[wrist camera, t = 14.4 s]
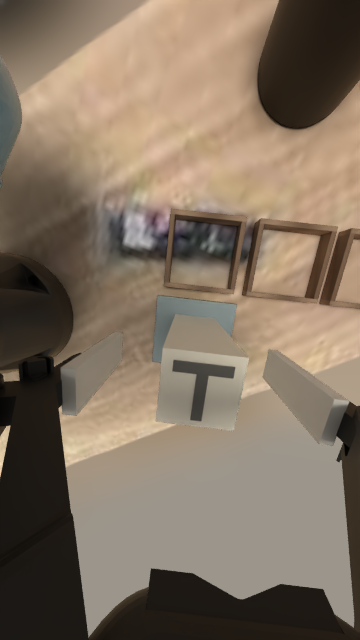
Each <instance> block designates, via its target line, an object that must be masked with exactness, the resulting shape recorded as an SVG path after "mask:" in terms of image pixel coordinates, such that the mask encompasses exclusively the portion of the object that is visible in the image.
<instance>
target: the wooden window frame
mask: <svg viewBox="0 0 360 640" xmlns="http://www.w3.org/2000/svg"><path fill="white" fill-rule="evenodd" d="M263 229H269V230H278V231H287V232H297V233H306V234H315V235H321V239H320V243H319V247H318V250H317V254H316V258H315V262H314V266H313V270H312V273H311V277H310V281H309V285H308V289H307V293H306V296H305V298H301V297H292V296H283V295H274V294H266V293H257V292H251V290H252V285H253V280H254V275H255V270H256V264H257V259H258V254H259V249H260V244H261V239H262V234H263ZM337 229H338V227H336V226H327V225H318V224H308V223H299V222H290V221H280V220H271V219H262V218H261V219H260V220H259V221H257V222H256V223H255V228H254V233H253V239H252V244H251V249H250V255H249V260H248V266H247V271H246V277H245V282H244V287H243V293H242V295H246V296H254V297H263V298H272V299H281V300H290V301H298V302H307V303H316V304H317V301H318V298H319V294H320V290H321V287H322V283H323V280H324V276H325V272H326V269H327V265H328V262H329V258H330V254H331V251H332V247H333V244H334V240H335V236H336V233H337Z"/></svg>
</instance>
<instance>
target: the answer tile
mask: <svg viewBox="0 0 360 640" xmlns="http://www.w3.org/2000/svg"><path fill="white" fill-rule="evenodd" d="M236 307H237V305H236V304H231V303H223V302H214V301H205V300H196V299H188V298H179V297H170V296H161V295H158V298H157V310H156V322H155V334H154V346H153V358H152V362H159V363H161V361H162V350H163V346H164V343H165V340H166V338H167V335H168V333H169V330H170V327H171V325H172V322H173V319H174V317H175V314H180V315H189V316H198V317H206V318H214V319H215V320H216V321H217V322H218V323H219V324H220V325H221V327H222V328H223V329H224V330H225V331H226V332H227V333H228V335H229V336H230V337H231V335H232V329H233V324H234V318H235V313H236Z"/></svg>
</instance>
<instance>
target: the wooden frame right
mask: <svg viewBox="0 0 360 640" xmlns="http://www.w3.org/2000/svg"><path fill="white" fill-rule="evenodd" d="M353 239H360V229H355V228H351V229H348V230H345V231H342V232H340V233H339V236H338V240H337V244H336V247H335V251H334V254H333V258H332V261H331V265H330V268H329V272H328V276H327V279H326V283H325V286H324V290H323V293H322V297H321V301H320V304H325V305H334V306H342V307H351V308H360V304H354V303H345V302H336V301H335V299H336V296H337V292H338V289H339V286H340V282H341V279H342V276H343V272H344V269H345V266H346V262H347V259H348V256H349V252H350V249H351V245H352V242H353Z"/></svg>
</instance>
